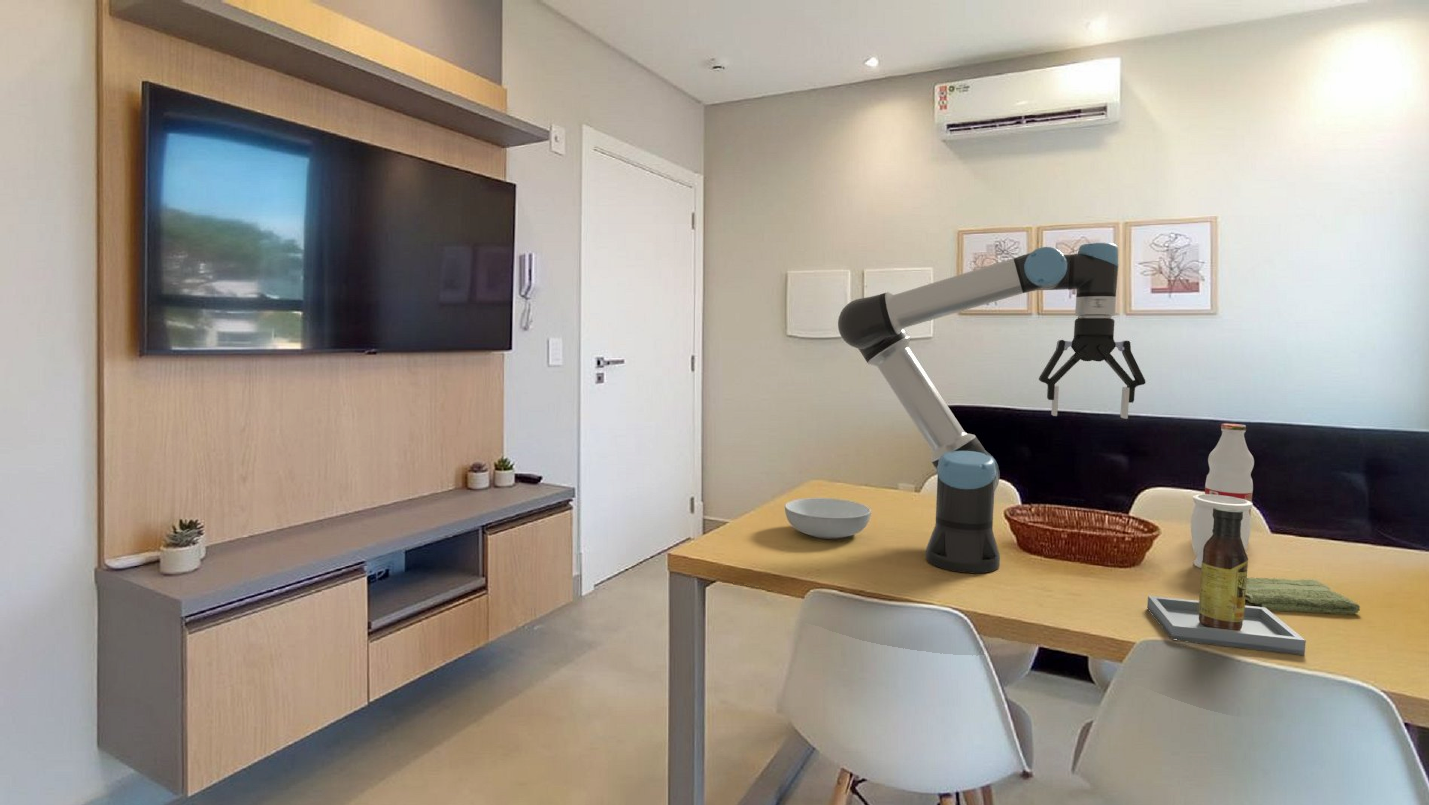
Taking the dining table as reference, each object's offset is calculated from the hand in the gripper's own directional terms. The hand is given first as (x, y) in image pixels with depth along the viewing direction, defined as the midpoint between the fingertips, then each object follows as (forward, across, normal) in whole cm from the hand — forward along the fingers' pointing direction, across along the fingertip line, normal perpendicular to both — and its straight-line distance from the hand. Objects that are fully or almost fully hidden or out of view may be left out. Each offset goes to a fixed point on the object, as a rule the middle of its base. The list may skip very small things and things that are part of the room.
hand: (1088, 416), depth 154 cm
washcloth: (+32, +33, -14) cm, 48 cm away
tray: (+32, +15, -34) cm, 49 cm away
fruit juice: (+32, +38, +31) cm, 59 cm away
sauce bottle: (+31, +15, -34) cm, 49 cm away
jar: (+32, +27, +3) cm, 42 cm away
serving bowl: (+32, -56, +3) cm, 65 cm away
